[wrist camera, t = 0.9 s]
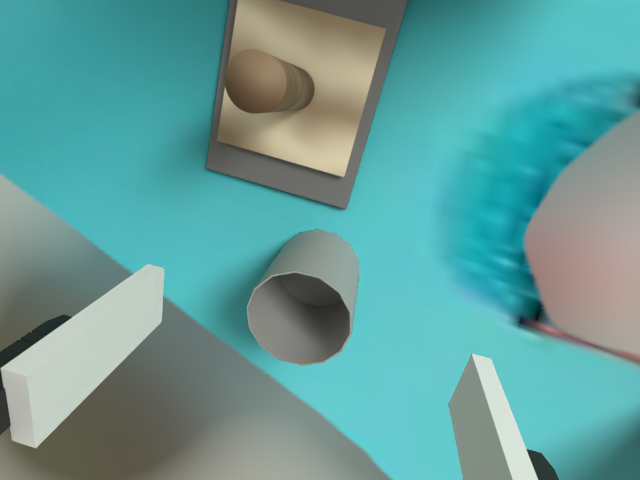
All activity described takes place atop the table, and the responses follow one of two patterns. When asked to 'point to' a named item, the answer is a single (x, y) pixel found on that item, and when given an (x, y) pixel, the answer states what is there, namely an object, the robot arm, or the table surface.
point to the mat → (386, 12)
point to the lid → (297, 83)
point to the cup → (306, 299)
